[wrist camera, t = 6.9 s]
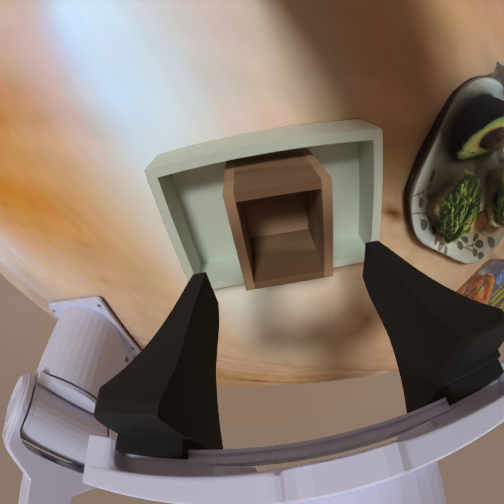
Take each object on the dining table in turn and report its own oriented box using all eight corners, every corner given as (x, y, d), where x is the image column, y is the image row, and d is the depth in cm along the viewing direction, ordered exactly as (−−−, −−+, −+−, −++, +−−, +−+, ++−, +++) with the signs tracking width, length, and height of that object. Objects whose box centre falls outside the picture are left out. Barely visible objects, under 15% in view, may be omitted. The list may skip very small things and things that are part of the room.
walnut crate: (313, 229, 20) (332, 275, 16) (244, 240, 20) (246, 290, 16) (307, 147, 16) (331, 177, 12) (226, 160, 16) (222, 194, 12)
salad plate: (546, 157, 16) (571, 175, 12) (478, 272, 25) (497, 298, 22) (466, 36, 11) (508, 40, 7) (374, 214, 20) (401, 249, 16)
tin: (499, 244, 22) (539, 292, 16) (503, 256, 24) (539, 302, 17) (414, 326, 29) (440, 382, 23) (424, 332, 31) (447, 384, 24)
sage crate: (362, 235, 21) (376, 259, 18) (197, 265, 22) (193, 292, 19) (361, 118, 15) (382, 129, 13) (158, 154, 16) (144, 170, 14)
